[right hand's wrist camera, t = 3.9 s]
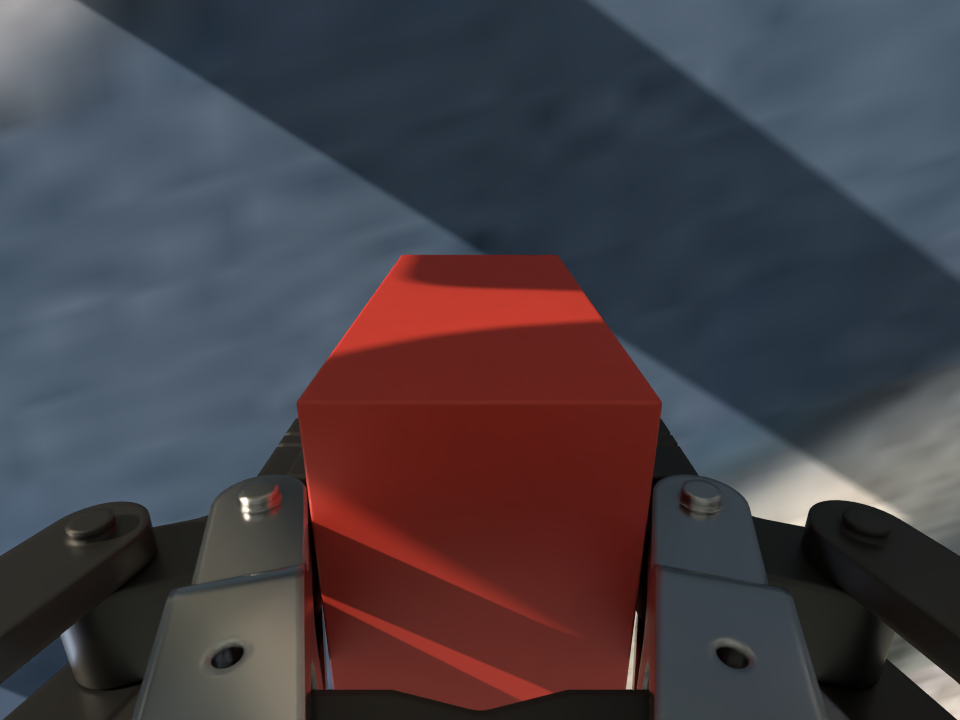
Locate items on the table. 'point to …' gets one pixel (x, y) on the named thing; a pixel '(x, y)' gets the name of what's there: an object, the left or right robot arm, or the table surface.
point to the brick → (479, 485)
